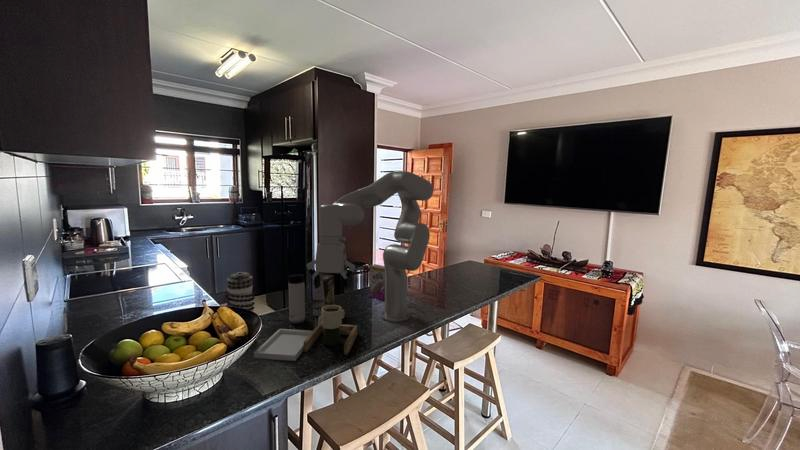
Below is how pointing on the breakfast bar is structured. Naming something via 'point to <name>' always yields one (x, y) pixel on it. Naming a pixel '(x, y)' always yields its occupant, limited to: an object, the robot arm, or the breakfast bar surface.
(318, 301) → the coffee box
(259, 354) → the tray
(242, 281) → the decorative candle
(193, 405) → the breakfast bar surface
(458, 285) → the breakfast bar surface
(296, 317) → the travel mug
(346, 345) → the bay
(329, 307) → the character mug
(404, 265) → the robot arm
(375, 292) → the candy bar box
